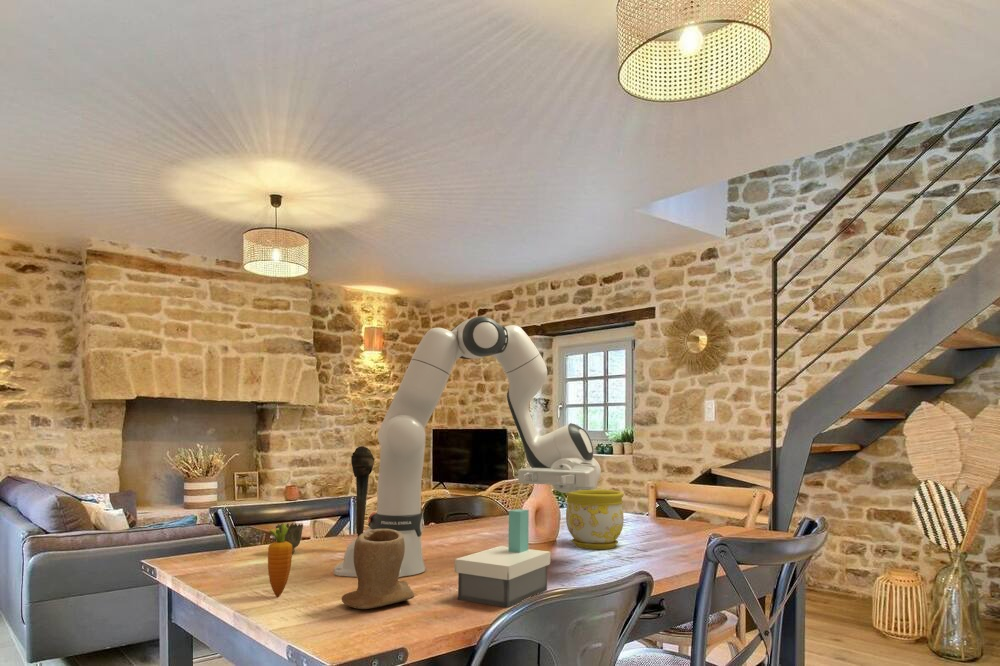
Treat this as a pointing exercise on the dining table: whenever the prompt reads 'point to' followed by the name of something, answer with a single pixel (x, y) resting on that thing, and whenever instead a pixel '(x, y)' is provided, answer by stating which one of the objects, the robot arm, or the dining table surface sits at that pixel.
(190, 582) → the dining table surface
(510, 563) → the lid
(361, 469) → the decorative torch
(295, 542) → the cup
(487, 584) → the tub
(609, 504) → the flowerpot
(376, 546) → the brown boot-shaped piece
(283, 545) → the carrot
